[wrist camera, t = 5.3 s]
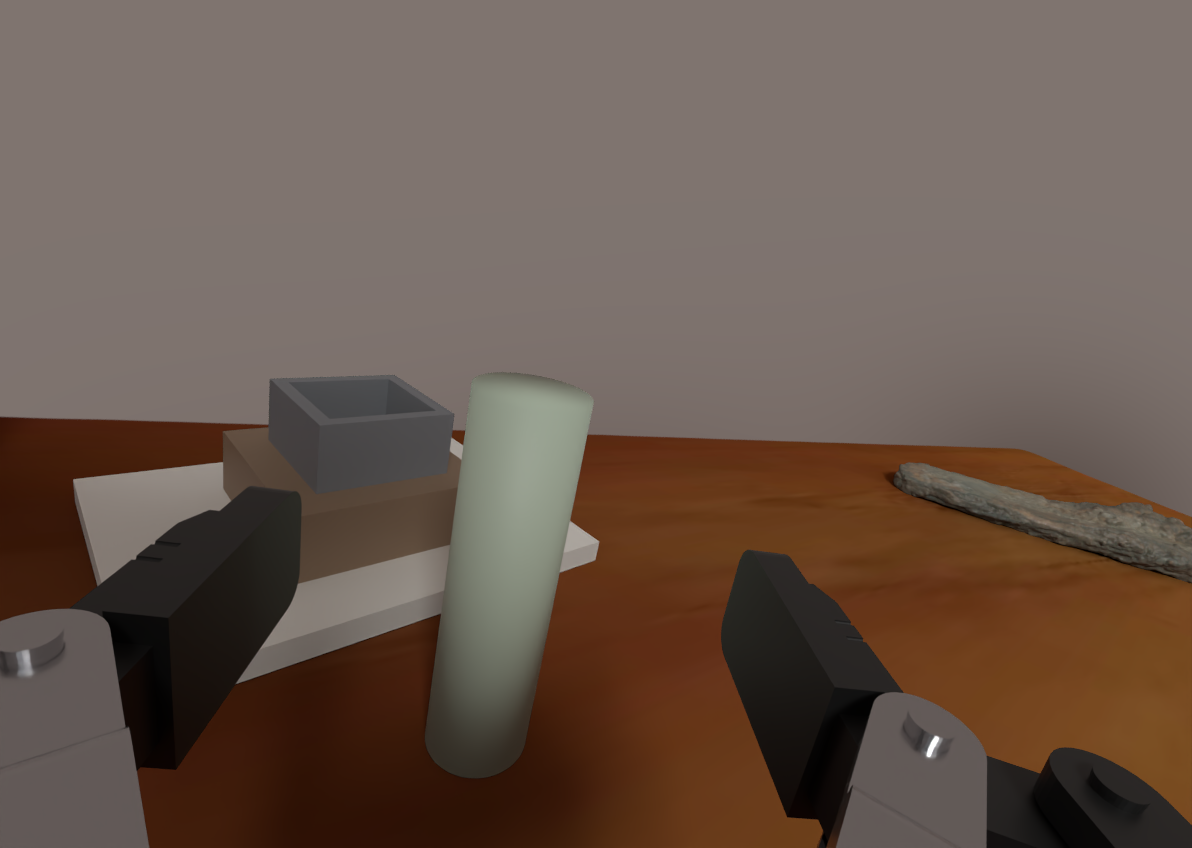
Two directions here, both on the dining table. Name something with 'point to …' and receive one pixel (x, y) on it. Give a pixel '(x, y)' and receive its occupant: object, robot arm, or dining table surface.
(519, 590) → the green dowel
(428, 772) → the dining table surface
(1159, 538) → the elongated rock
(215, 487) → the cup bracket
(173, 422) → the dining table surface
